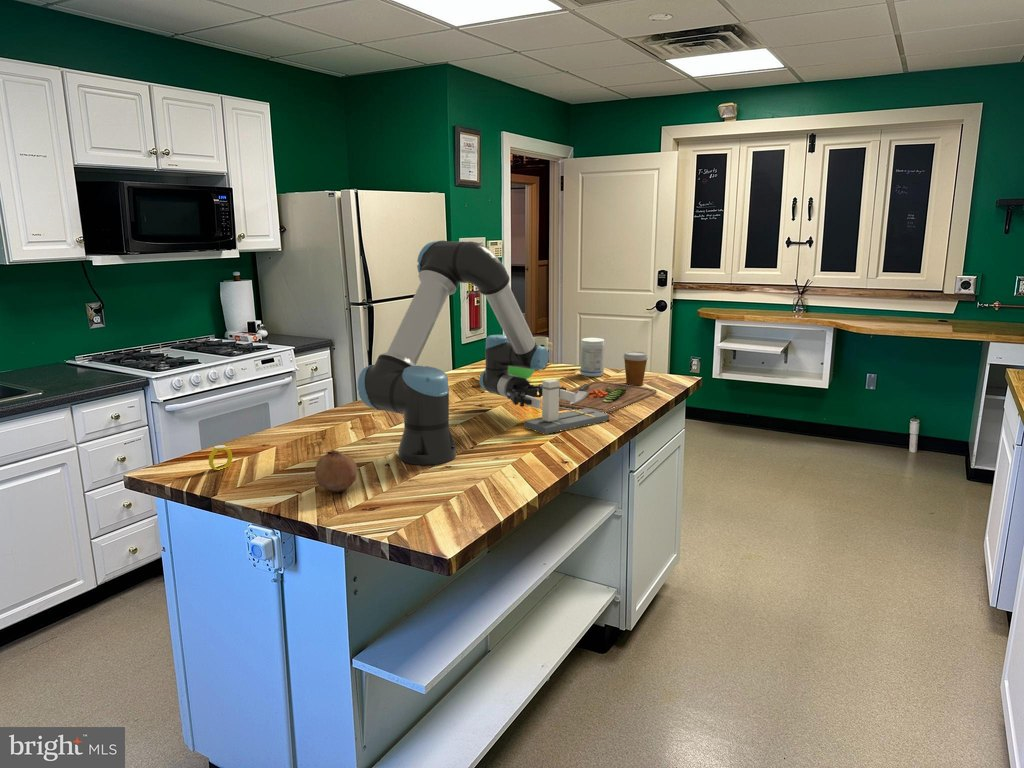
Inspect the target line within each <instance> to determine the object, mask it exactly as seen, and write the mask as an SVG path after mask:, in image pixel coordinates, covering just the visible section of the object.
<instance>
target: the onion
mask: <svg viewBox="0 0 1024 768" xmlns="http://www.w3.org/2000/svg"><path fill="white" fill-rule="evenodd" d="M358 472H359V471H358V465H357V463H356V461H355V460H354V459H353V458H352V457H351V456H349V455H347V454H344V453H342V452H341V451H339V450H336V449H330V450H329V451H327V452H326V454H324V455H323V456H321V457H320V458H319V459H318V461H317V462H316V464H315V468H314V476H315V477H314V478H315V480H316V482H317V484H318V485H319V486H320V487H321V488H323V489H325V490H328V491H330V492H332V493H341V492H344V491H346V490H347V489H349V488H350V487H352V486H353V484H354V483H355V481H356V480H357V476H358V474H359V473H358Z"/></svg>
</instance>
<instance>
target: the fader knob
mask: <svg viewBox="0 0 1024 768" xmlns="http://www.w3.org/2000/svg"><path fill="white" fill-rule="evenodd" d="M542 385H543V386H542V388H543V391H542V396H541V398H542V399H541V417H542V420H545V421H548V422H549V421H554V420H559V414H560V409H559V407H560V406H559V387H560V380H557V379H554V378H551V379H546V380H542Z"/></svg>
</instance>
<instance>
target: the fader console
mask: <svg viewBox="0 0 1024 768" xmlns="http://www.w3.org/2000/svg"><path fill="white" fill-rule="evenodd" d="M607 420H609V421H610V414H606V413H602V412H599V411H596V410H592V409H589V408H586V409H581V410H577V409H576V410H575V411H571V410H570V411H567V412H562V413H559V420H554V421H549V422H548V421H545V420H542V416H541V417H536V418H532V419H526V420H524V426H523V427H524V428H526V427H527V428H526V429H529V428H530V429H529V430H531V429H533V430H532V431H534V430H536V431H535V432H537V431H538V432H537V433H539V432H541V433H540V434H542V433H544V434H543V435H545V434H546V435H549V434H548V433H551V434H554V433H553V432H555V433H558V432H557V431H560V430H565V429H569V430H571V429H570V428H574V427H578V426H583V427H585V426H584V425H588V424H592V425H594V424H593V423H597V424H599V423H598V422H601V423H604V422H603V421H606V422H608V421H607ZM588 426H589V425H588ZM578 428H579V427H578ZM574 429H575V428H574ZM565 431H566V430H565ZM560 432H561V431H560Z"/></svg>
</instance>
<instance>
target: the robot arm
mask: <svg viewBox="0 0 1024 768" xmlns="http://www.w3.org/2000/svg"><path fill="white" fill-rule="evenodd" d="M416 260H417V263H418V264H417V265H416V268H417V272H418V280H419V282H420V283H419V285H418V287H417V289H416V291H415V293H414V295H413V297H412V299H411V302H410V304H409V305H408V308H407V309H406V312H405V314H404V316H403V318H402V320H401V322H400V325H399V326H398V329H397V330H396V333H395V334H394V336H393V338H392V341H391V343H390V344H389V347H388V349H387V351H386V352H383V353H381V354H379V356H378V357H377V359H376V361H375V362H374V363H375V364H370V365H367V366H365V367H364V368H363V369H362V370H361V372H360V373H359V376H358V378H357V391H358V395H359V398H360V400H361V401H362V403H363V404H364V405H366V406H367V407H369V408H372V409H375V410H376V411H385V412H390V413H396V414H399V415H400V414H401V415H403V420H404V423H403V424H404V425H403V426H404V430H403V432H402V436H401V439H400V442H399V447H398V451H397V452H398V459H399V461H401V462H404V463H406V464H411V465H419V466H420V465H421V466H428V465H439V464H444V463H448V462H450V461H452V460H454V459H455V458H456V456H457V449H456V447H457V446H456V444H455V441H454V438H453V435H452V432H451V429H450V421H449V420H450V416H449V415H450V409H449V408H450V407H449V406H450V404H449V403H450V402H449V401H450V395H449V394H450V387H449V378H448V375H447V374H446V373H445V372H444V371H443V370H441V369H439V368H436V367H434V366H433V367H432V366H427V365H426V366H425V365H417V363H418V360H419V359H420V357H421V354H422V352H423V350H424V347H425V346H426V344H427V342H428V340H429V337H430V336H431V333H432V330H433V328H434V327H435V324H436V323H437V319H438V317H439V315H440V314H441V312H442V309H443V306H444V304H445V302H446V300H447V298H448V296H451V295H454V294H455V293H456V291H457V290H458V287H459V285H460V284H462V283H465V284H472V285H474V287H476V288H477V290H478V292H479V293H480V294H481V295H483V296H485V298H486V300H487V302H488V303H489V306H490V308H491V310H492V311H493V313H494V316H495V317H496V320H497V322H498V324H499V325H500V328H501V329H502V331H503V333H504V334H492V335H491V334H490V335H487V337H486V338H485V348H484V350H485V354H484V355H485V368H484V370H483V371H482V372H481V373H480V376H479V380H478V382H479V386H480V387H481V388H482V389H483V390H485V391H487V393H490V394H493V395H494V394H495V395H498V396H500V397H504V398H507V400H510V401H511V402H512V403H513V405H515V406H517V405H518V404H519V407H525V405H526V406H529V407H532V408H535V409H538V410H541V409H542V399H541V398H542V391H543V388H542V386H543V384H541V383H540V384H537V385H534V384H530V382H529V380H528V379H524V378H521V377H517V376H514V375H510V374H508V366H513V367H520V368H527V369H532V370H533V369H535V370H536V371H537V370H544V369H545V368H547V366H548V363H549V361H550V353H549V350H547V348H545V347H542V346H537V344H536V342H535V340H534V338H533V337H534V336H533V334H532V331H531V330H530V327H529V325H528V323H527V321H526V318H525V317H524V314H523V312H522V310H521V307H520V306H519V303H518V301H517V299H516V297H515V295H514V292H513V291H512V288H511V286H510V281H511V280H510V276H509V273H508V271H507V270H506V267H505V266H504V264H503V263H502V262H501V260H500V259H499V258H498V256H497V255H496V254H495V253H494V252H493V251H491V250H490V249H489V247H487V246H485V245H483V244H481V243H479V242H477V241H452V240H451V241H448V240H436V241H435V240H434V241H430V242H428V243H426V244H425V245H424V246H423V247H422V248H421V250H420V251H419V254H418V256H417V259H416ZM546 365H547V366H546ZM559 397H560V398H561V399H564V400H568V401H571V402H575V400H576V393H573V392H570V391H568V390H567V387H564V386H563V385H562V386H559Z"/></svg>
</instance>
